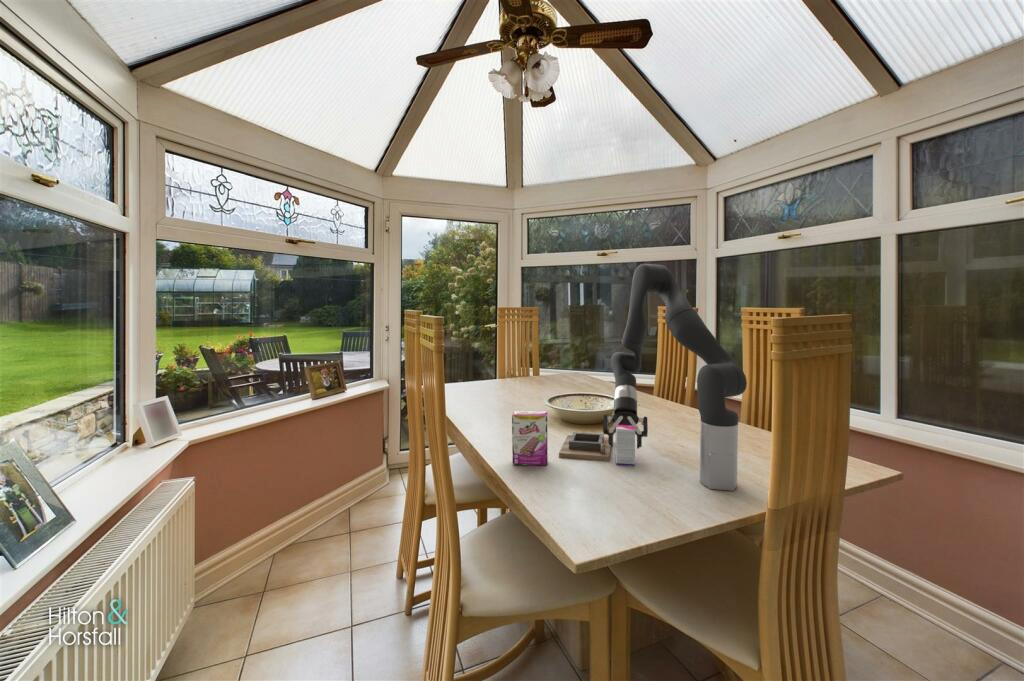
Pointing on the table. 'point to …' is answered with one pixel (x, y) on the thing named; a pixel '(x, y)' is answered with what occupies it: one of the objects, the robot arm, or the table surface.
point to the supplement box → (625, 445)
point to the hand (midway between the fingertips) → (624, 446)
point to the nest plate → (586, 447)
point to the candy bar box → (530, 437)
